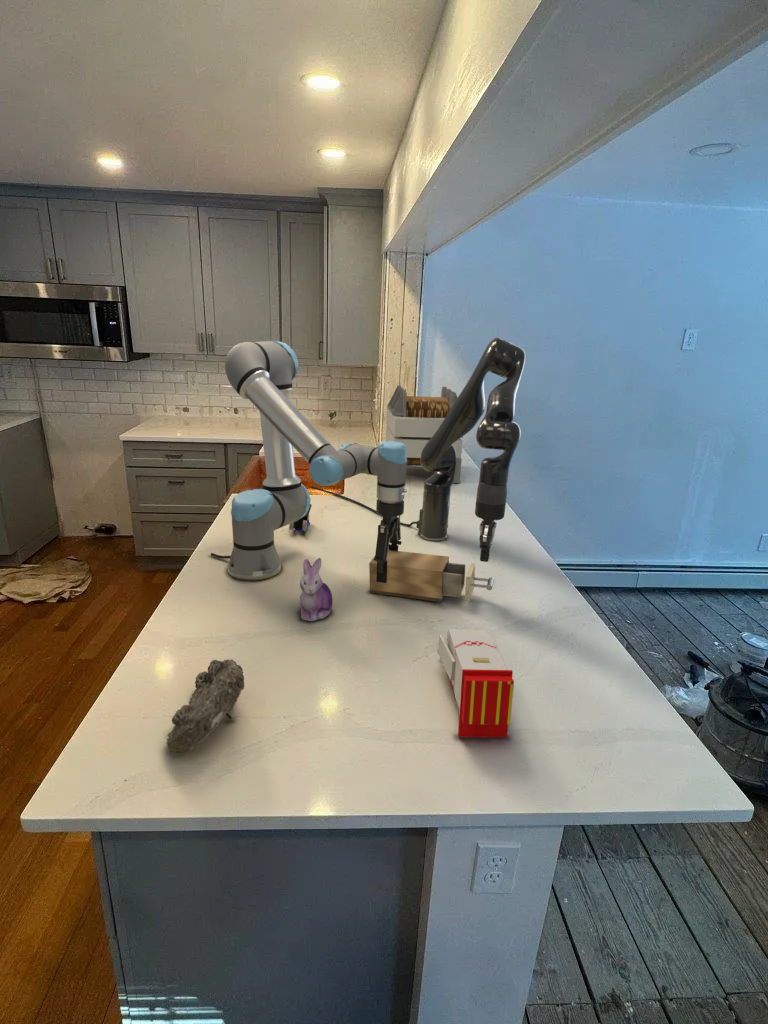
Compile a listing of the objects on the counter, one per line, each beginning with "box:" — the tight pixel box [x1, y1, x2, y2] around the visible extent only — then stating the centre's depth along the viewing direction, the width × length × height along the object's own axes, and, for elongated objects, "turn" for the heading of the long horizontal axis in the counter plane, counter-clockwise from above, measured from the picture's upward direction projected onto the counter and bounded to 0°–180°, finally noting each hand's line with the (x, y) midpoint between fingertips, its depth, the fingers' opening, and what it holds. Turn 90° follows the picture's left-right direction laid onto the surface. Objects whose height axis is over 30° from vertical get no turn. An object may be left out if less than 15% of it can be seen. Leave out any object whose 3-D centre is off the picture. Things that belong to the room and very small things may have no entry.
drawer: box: [442, 562, 495, 602], centre depth 155 cm, size 25×9×7 cm, turn 73°
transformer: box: [384, 384, 464, 484], centre depth 268 cm, size 34×33×41 cm
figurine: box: [299, 557, 333, 622], centre depth 143 cm, size 9×10×15 cm
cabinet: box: [368, 550, 450, 603], centre depth 158 cm, size 20×10×9 cm, turn 73°
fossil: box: [166, 658, 245, 754], centre depth 106 cm, size 22×10×15 cm
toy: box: [437, 628, 515, 738], centre depth 117 cm, size 12×13×30 cm
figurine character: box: [288, 503, 313, 535], centre depth 199 cm, size 7×8×15 cm
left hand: (387, 573), depth 160 cm, fingers closed on cabinet, 10 cm apart
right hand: (484, 560), depth 151 cm, fingers closed
